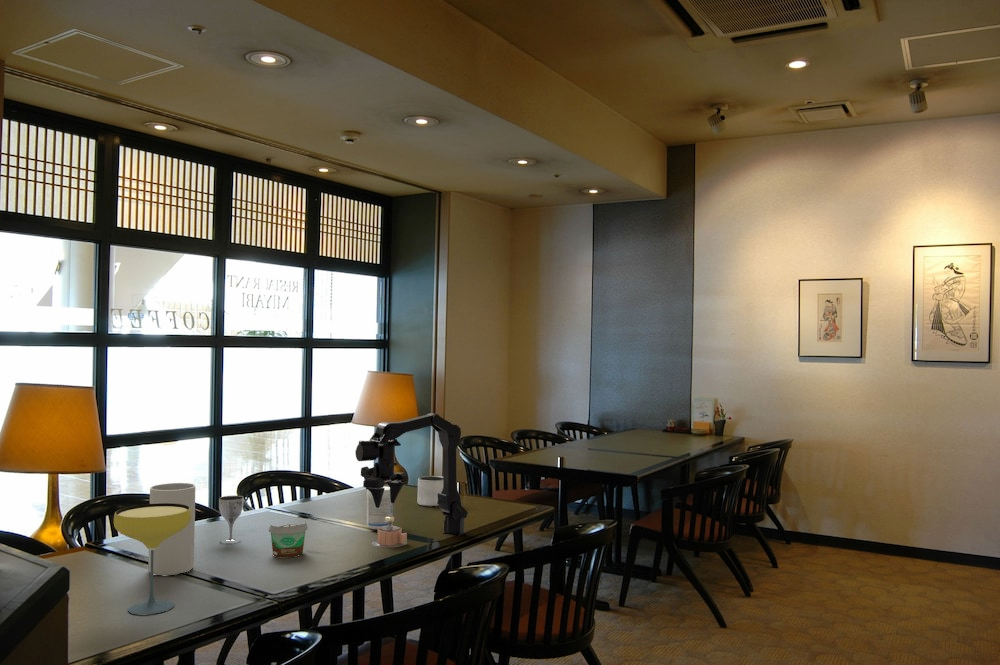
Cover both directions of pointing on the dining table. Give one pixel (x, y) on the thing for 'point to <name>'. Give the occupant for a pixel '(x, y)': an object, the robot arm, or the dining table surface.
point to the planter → (429, 490)
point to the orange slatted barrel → (391, 536)
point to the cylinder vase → (179, 547)
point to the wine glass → (231, 510)
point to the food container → (288, 540)
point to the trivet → (386, 546)
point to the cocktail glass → (152, 538)
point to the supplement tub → (379, 510)
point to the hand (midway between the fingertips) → (385, 505)
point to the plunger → (389, 521)
